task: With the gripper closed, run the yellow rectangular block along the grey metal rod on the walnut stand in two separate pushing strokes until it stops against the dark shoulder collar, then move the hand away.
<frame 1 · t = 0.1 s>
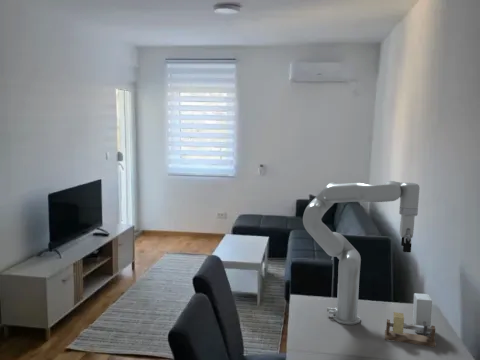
hand: (405, 248, 199), 37 cm above the table, tool pointing down, fingers open, 9 cm apart
yellow rectangular block: (398, 322, 192), point 7 cm above the table, slide at 8.0 cm
skincare box: (420, 329, 201), on the table
rod stand: (409, 339, 192), on the table
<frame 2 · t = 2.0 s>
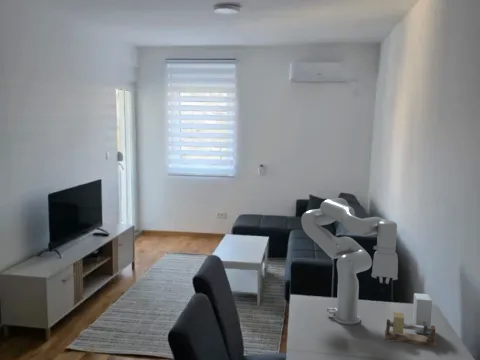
hand: (383, 291, 192), 20 cm above the table, tool pointing down, fingers closed
nothing on the table moved.
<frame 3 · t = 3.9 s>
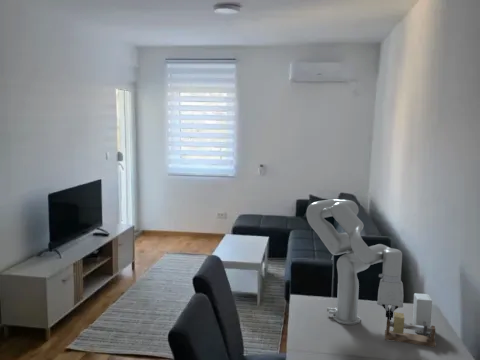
hand: (389, 318, 193), 8 cm above the table, tool pointing down, fingers closed
yellow rectangular block: (398, 322, 192), point 7 cm above the table, slide at 7.9 cm, touching gripper
everything else where it was.
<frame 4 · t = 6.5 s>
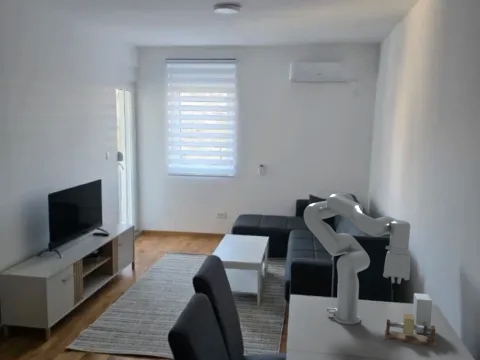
hand: (394, 291, 191), 21 cm above the table, tool pointing down, fingers closed
yellow rectangular block: (408, 324, 191), point 7 cm above the table, slide at 3.9 cm
everything else where it was.
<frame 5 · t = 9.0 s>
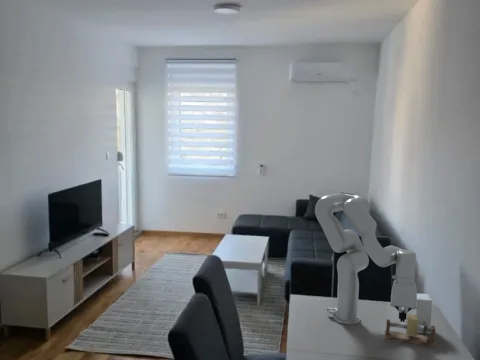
hand: (402, 320, 191), 8 cm above the table, tool pointing down, fingers closed
yellow rectangular block: (411, 324, 190), point 7 cm above the table, slide at 2.5 cm, touching gripper
everything else where it was.
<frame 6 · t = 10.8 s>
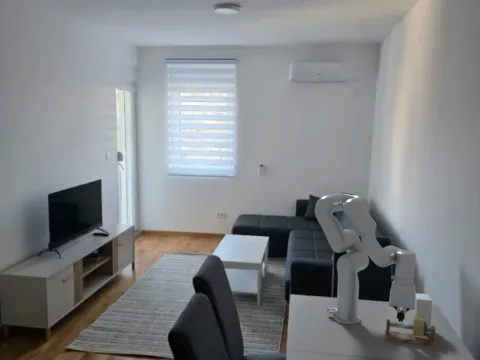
hand: (400, 320, 192), 8 cm above the table, tool pointing down, fingers closed
yellow rectangular block: (418, 325, 190), point 7 cm above the table, slide at 0.0 cm
everything else where it was.
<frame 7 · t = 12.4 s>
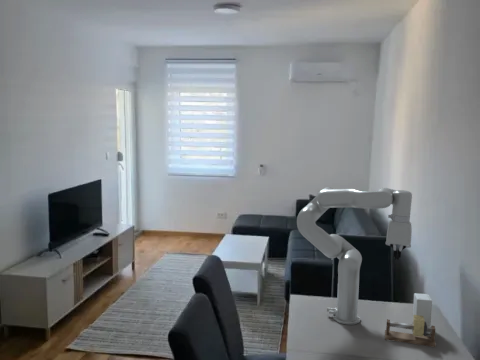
hand: (396, 258, 199), 32 cm above the table, tool pointing down, fingers closed
nothing on the table moved.
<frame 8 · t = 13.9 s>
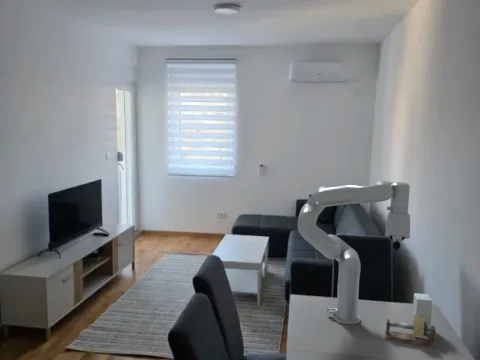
hand: (396, 249, 202), 35 cm above the table, tool pointing down, fingers closed
nothing on the table moved.
at the end: yellow rectangular block slide at 0.0 cm; skincare box moved 0.2 cm from its start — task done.
